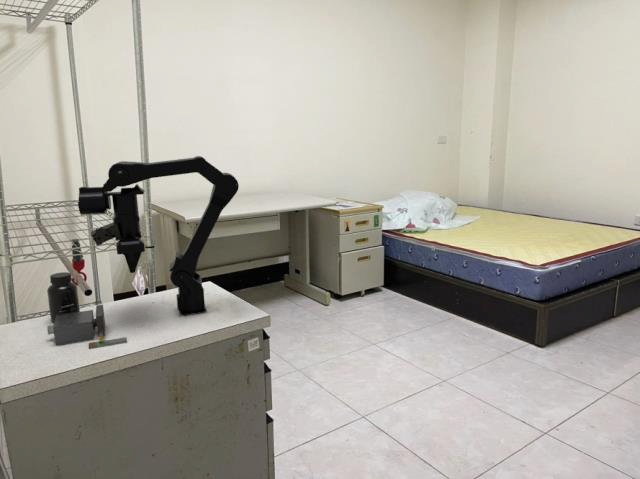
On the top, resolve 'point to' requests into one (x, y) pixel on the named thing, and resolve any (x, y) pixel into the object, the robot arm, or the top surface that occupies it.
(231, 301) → the top surface
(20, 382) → the top surface
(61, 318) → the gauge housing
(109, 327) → the top surface
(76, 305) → the supplement bottle
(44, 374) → the top surface
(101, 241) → the robot arm
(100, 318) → the gauge plunger
